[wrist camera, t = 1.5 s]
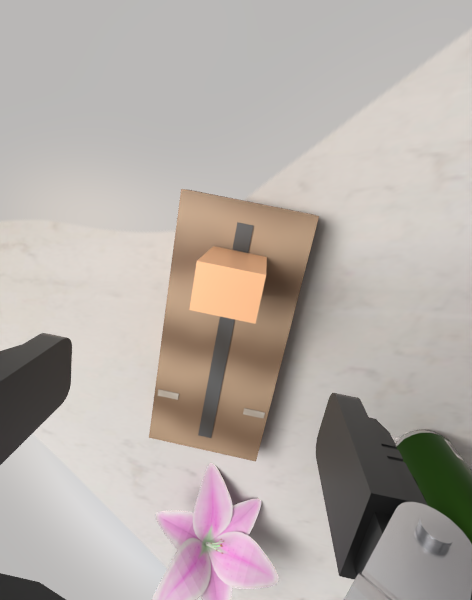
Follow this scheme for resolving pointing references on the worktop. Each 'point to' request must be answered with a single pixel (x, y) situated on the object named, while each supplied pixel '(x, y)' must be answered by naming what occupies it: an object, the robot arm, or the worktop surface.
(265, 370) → the fader base
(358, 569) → the robot arm
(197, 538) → the lily
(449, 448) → the green soda can
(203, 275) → the fader knob
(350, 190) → the worktop surface
